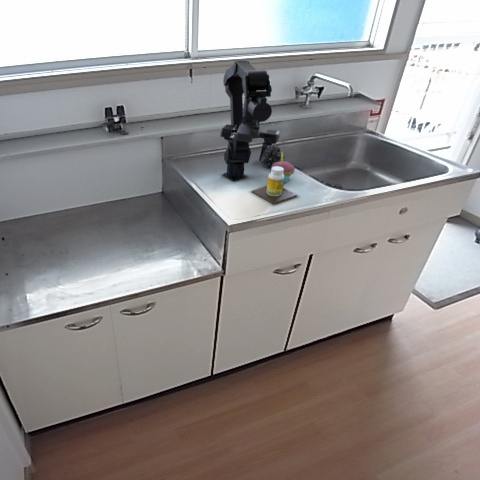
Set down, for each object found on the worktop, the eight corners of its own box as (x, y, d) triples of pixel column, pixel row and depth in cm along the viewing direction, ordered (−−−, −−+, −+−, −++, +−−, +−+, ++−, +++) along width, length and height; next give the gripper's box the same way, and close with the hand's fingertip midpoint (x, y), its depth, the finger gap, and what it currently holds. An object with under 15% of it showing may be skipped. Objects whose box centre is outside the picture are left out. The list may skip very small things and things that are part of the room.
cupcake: (281, 186, 146) (286, 155, 139) (264, 178, 152) (269, 148, 145) (297, 180, 149) (303, 150, 143) (280, 173, 155) (285, 144, 149)
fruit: (265, 135, 165) (268, 147, 153) (284, 142, 166) (288, 154, 153) (256, 153, 170) (258, 167, 158) (274, 160, 170) (277, 174, 158)
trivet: (251, 192, 142) (252, 190, 142) (274, 185, 147) (274, 183, 146) (273, 204, 134) (273, 203, 134) (296, 196, 139) (296, 195, 139)
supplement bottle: (271, 188, 143) (275, 163, 138) (284, 193, 140) (288, 168, 134) (263, 193, 140) (266, 168, 135) (276, 198, 137) (280, 172, 131)
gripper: (216, 116, 124) (213, 162, 133) (276, 123, 117) (268, 171, 126) (227, 107, 132) (223, 151, 141) (283, 113, 126) (276, 159, 134)
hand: (246, 158), depth 135 cm, fingers open, 9 cm apart
